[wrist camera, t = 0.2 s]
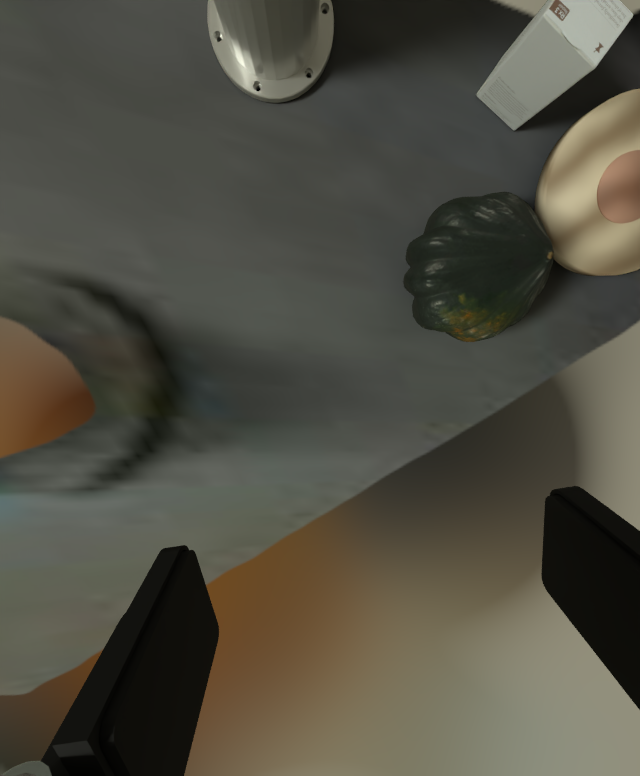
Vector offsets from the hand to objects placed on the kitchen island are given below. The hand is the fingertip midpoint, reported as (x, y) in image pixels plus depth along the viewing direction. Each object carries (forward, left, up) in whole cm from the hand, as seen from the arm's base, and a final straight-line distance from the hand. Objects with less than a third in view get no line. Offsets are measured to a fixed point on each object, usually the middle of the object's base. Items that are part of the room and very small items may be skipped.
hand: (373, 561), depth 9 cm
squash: (+5, +18, -37) cm, 42 cm away
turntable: (+10, +36, -35) cm, 51 cm away
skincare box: (-6, +33, -37) cm, 50 cm away
